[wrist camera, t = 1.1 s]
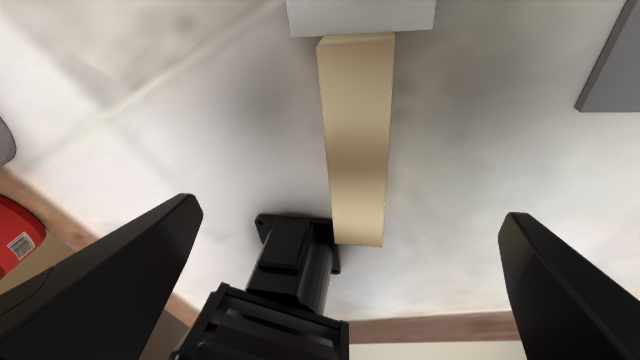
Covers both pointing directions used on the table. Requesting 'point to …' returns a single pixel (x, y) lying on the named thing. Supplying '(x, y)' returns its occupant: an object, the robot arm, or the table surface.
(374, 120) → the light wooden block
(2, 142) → the pillar candle
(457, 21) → the table surface
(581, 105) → the mat
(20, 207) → the canned food
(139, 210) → the table surface
